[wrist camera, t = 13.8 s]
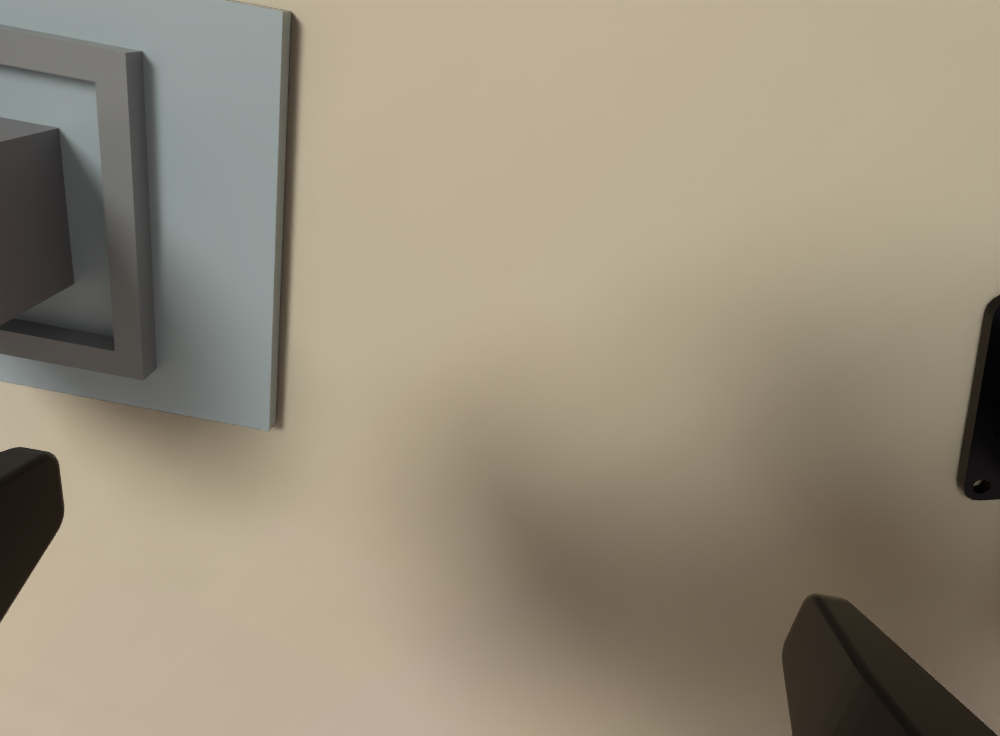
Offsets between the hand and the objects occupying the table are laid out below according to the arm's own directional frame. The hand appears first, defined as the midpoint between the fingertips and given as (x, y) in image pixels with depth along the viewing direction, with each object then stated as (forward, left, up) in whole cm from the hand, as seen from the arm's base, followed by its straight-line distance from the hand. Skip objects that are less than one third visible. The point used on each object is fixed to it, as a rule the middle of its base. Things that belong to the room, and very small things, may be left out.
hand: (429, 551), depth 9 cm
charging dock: (+3, +14, -13) cm, 19 cm away
